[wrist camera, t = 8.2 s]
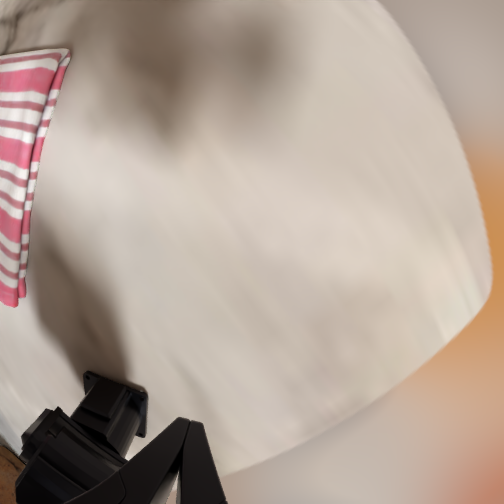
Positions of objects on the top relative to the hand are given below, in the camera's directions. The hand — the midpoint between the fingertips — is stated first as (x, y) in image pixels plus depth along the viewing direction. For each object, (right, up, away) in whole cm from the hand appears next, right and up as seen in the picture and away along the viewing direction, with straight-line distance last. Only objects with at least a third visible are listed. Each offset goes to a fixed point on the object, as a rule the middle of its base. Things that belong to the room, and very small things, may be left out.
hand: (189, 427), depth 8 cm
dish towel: (-24, +14, +10) cm, 30 cm away
